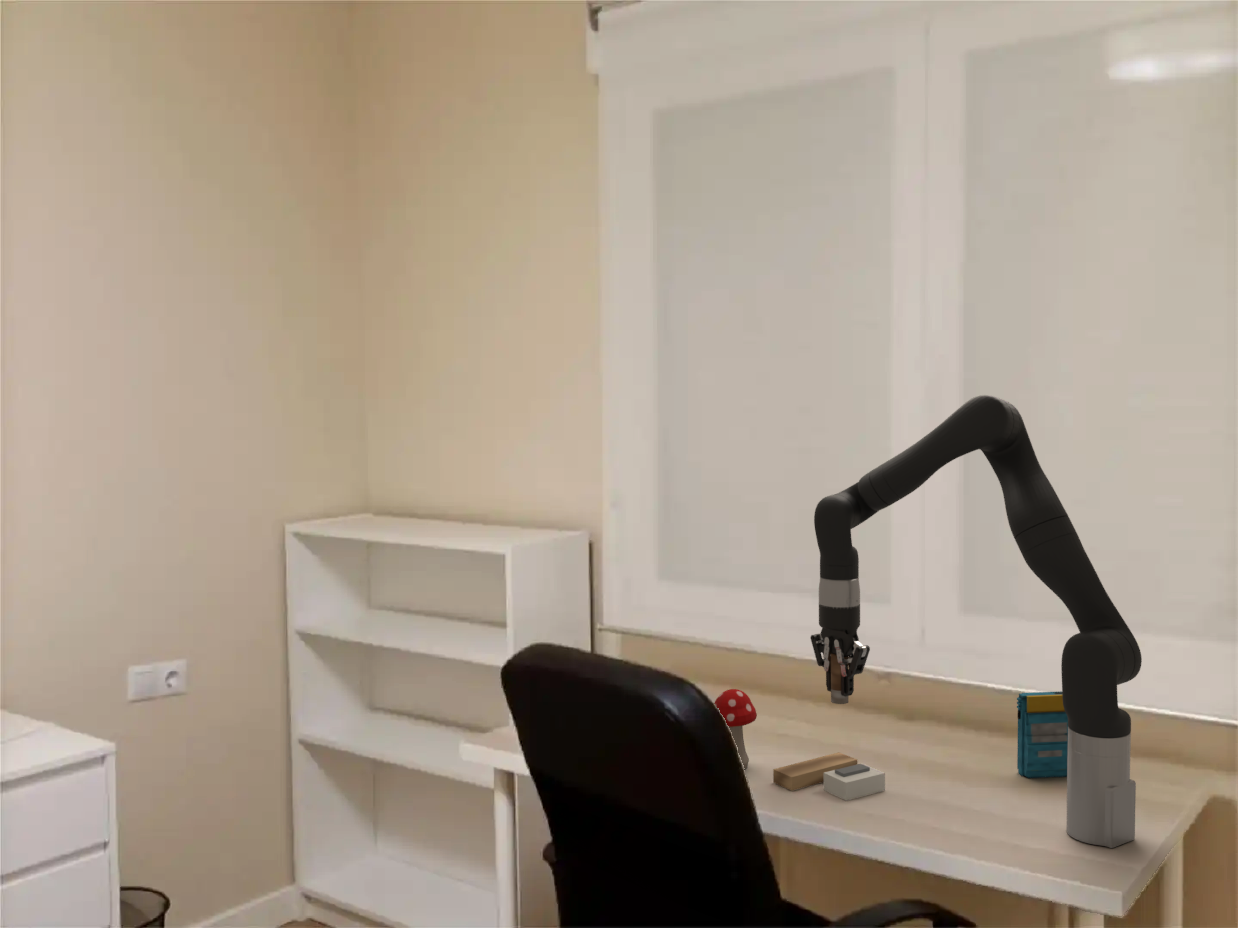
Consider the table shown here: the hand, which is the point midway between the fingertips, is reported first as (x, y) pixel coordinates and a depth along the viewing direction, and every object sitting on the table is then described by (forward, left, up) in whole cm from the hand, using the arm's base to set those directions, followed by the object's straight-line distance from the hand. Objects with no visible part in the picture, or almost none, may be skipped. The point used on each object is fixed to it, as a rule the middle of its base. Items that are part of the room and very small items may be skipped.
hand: (839, 692), depth 212 cm
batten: (0, +6, -15) cm, 16 cm away
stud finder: (-9, +5, -15) cm, 18 cm away
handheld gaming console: (-23, -29, -15) cm, 40 cm away
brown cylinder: (0, 0, -2) cm, 2 cm away
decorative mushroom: (+13, +15, -15) cm, 25 cm away
